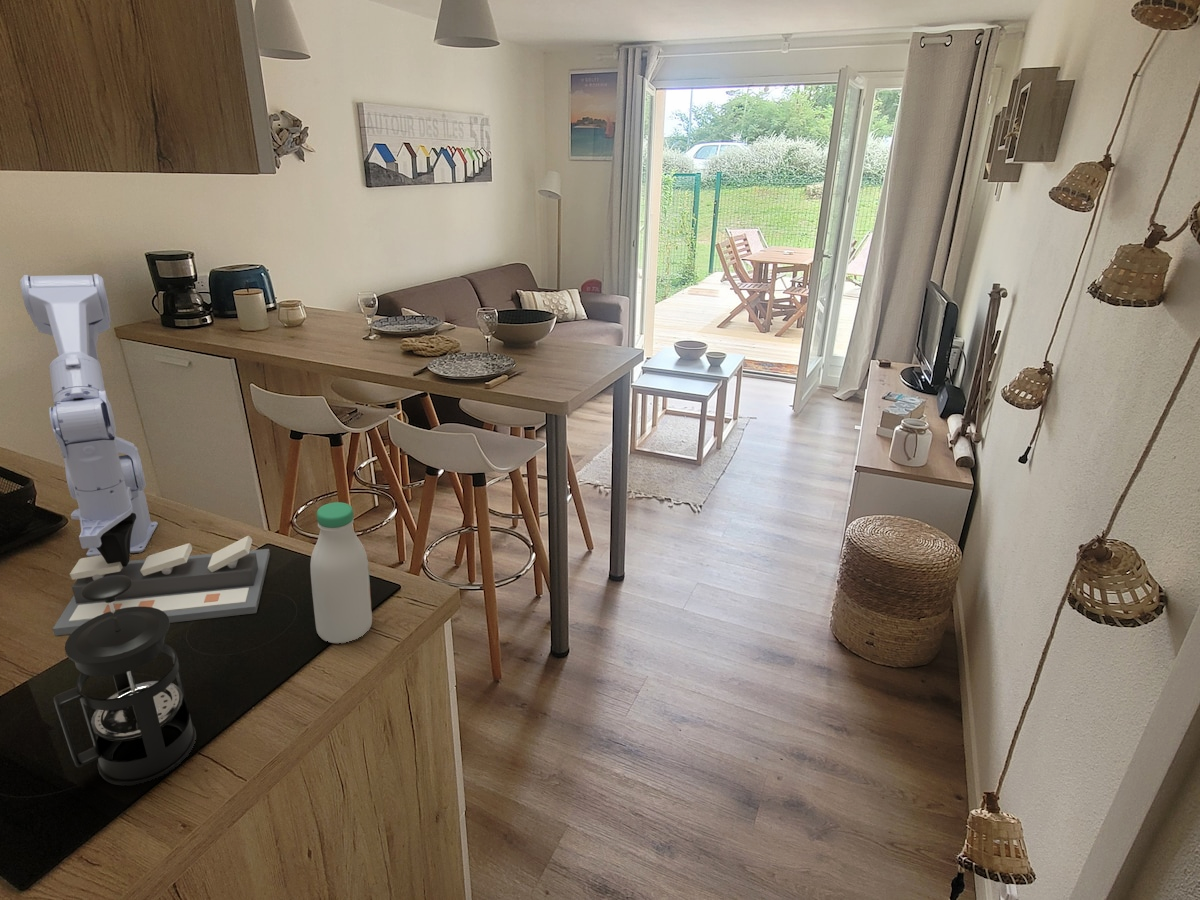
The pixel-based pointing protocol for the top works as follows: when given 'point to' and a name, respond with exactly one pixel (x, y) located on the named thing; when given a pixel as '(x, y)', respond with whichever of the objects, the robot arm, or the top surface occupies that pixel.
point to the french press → (127, 688)
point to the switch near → (94, 568)
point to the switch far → (230, 554)
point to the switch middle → (166, 560)
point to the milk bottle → (340, 577)
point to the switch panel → (178, 591)
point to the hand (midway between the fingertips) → (119, 564)
